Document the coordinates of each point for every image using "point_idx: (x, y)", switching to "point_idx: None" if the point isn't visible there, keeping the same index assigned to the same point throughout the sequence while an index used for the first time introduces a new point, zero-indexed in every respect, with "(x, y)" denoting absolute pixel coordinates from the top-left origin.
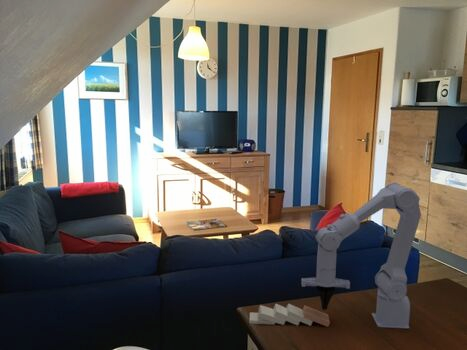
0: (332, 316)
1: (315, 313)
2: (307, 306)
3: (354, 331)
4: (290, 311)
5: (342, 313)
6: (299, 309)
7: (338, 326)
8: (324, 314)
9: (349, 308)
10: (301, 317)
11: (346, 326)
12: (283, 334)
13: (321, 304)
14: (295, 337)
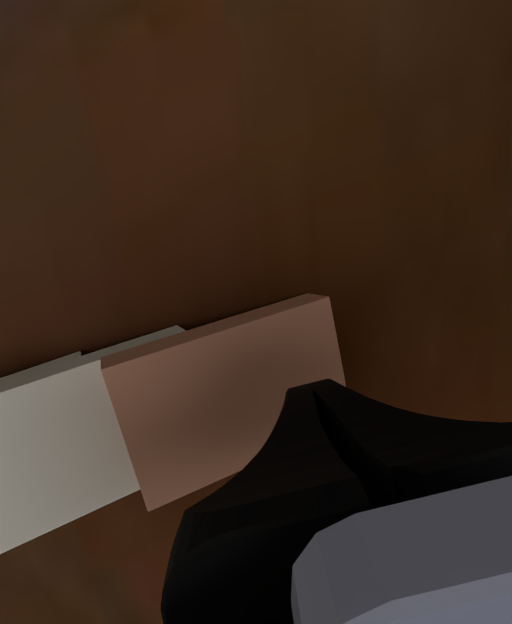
0: (354, 227)
1: (230, 411)
2: (135, 362)
3: (508, 389)
4: (5, 548)
5: (436, 144)
6: (73, 394)
7: (401, 362)
8: (303, 334)
9: (503, 17)
10: (125, 493)
11: (457, 343)
12: (60, 573)
13: (285, 398)
14: (141, 577)
